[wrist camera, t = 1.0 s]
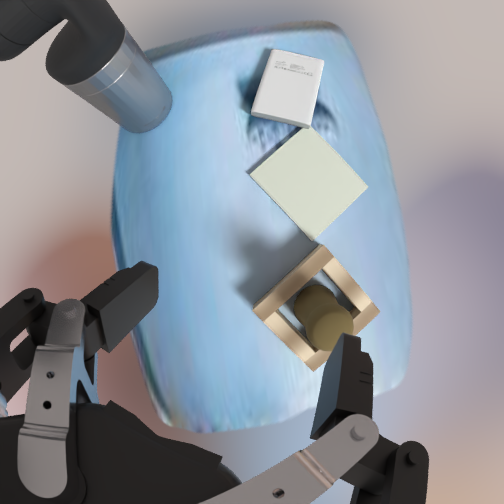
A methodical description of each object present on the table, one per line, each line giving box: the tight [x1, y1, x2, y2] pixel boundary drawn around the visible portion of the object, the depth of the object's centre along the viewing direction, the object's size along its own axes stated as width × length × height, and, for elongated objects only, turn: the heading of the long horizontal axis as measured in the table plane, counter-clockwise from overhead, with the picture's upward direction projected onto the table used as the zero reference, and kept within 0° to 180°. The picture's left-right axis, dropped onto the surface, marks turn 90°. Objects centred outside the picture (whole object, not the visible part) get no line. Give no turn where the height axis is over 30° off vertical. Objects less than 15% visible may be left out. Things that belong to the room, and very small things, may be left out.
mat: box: [250, 126, 368, 241], centre depth 36 cm, size 12×11×1 cm
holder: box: [252, 244, 380, 372], centre depth 36 cm, size 12×12×3 cm
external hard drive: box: [251, 49, 324, 129], centre depth 35 cm, size 2×8×12 cm
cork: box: [294, 285, 354, 351], centre depth 32 cm, size 6×6×11 cm
